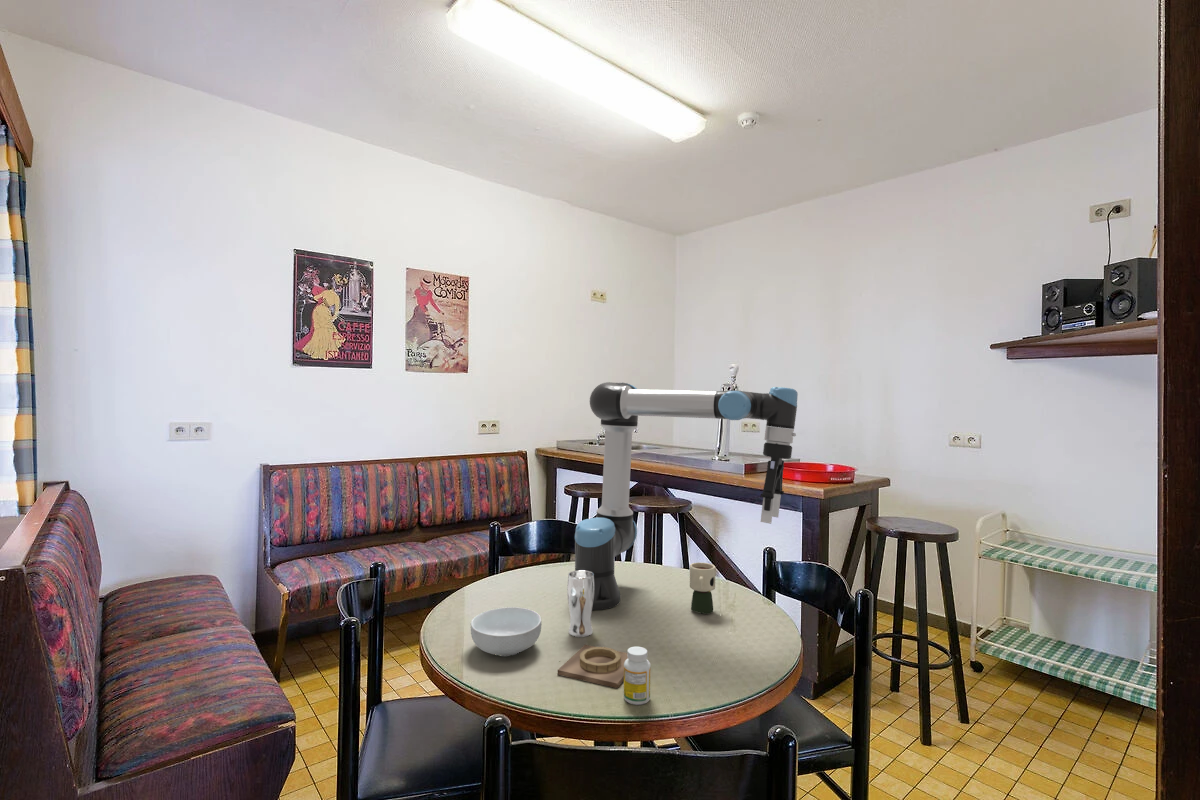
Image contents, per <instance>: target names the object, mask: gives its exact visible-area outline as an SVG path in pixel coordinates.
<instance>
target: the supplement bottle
mask: <svg viewBox="0 0 1200 800" xmlns="http://www.w3.org/2000/svg"><path fill="white" fill-rule="evenodd" d="M626 653H627V657H628V659H626V660H625V662H624V681H623V699H624V700H625V702H627V703H628V704H631V705H634V706H641V705H645V704H647V703H648V702H649V701H650V700H651V666H652V665H651V662H650V660H648V650H647V648H645V647H642V646H631V647H629V648H627V652H626Z"/></svg>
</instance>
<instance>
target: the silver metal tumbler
mask: <svg viewBox="0 0 1200 800" xmlns="http://www.w3.org/2000/svg"><path fill="white" fill-rule="evenodd" d="M567 575H568V577H567V587H566V590H567V591H566V593H567V594H566V595H567V603H568V610H569V615H570V621H569V628H568V634H569V635H570V636H571V635H572V637H574V636H575V638H586V637H589V635H590V636H591V635H592V634H593V627H592V612H593V610H592V607H593V602H594V592H595V587H594V573H593V572H590V571H586V570H576V571H575V570H572V571H570V572H568V574H567Z"/></svg>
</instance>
